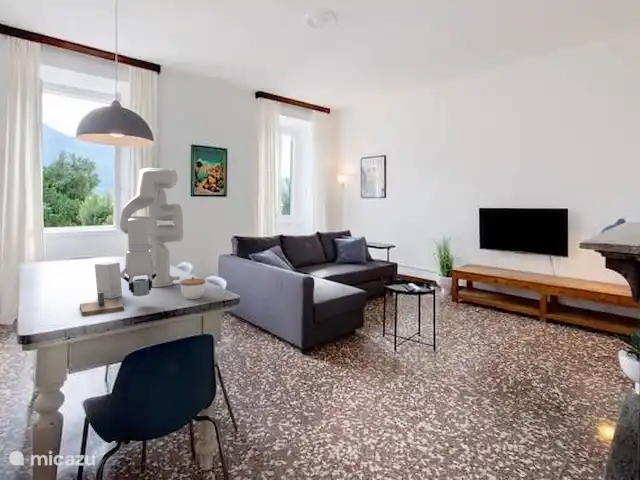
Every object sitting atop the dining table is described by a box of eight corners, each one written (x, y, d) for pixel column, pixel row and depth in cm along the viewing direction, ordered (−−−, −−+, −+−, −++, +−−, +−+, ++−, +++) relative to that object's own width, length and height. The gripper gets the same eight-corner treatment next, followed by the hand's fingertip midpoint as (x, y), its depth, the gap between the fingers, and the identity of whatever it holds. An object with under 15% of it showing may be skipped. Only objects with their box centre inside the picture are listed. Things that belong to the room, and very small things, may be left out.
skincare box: (122, 296, 172) (121, 262, 171) (110, 299, 166) (108, 264, 164) (108, 294, 175) (107, 261, 173) (96, 297, 169) (94, 263, 167)
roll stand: (118, 302, 161) (117, 287, 160) (123, 310, 150) (123, 294, 149) (79, 307, 153) (79, 291, 152) (82, 316, 141) (81, 299, 141)
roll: (147, 291, 161) (146, 277, 161) (150, 294, 156) (149, 280, 156) (131, 293, 158) (131, 279, 157) (134, 296, 153) (133, 282, 152)
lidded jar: (175, 299, 167) (174, 278, 166) (191, 293, 177) (191, 274, 176) (195, 301, 164) (194, 280, 163) (210, 295, 174) (210, 275, 173)
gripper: (158, 245, 163) (160, 286, 165) (113, 248, 153) (116, 291, 155) (163, 247, 157) (164, 289, 159) (116, 250, 147) (119, 295, 149)
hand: (140, 290), depth 157 cm, fingers closed on roll, 5 cm apart
